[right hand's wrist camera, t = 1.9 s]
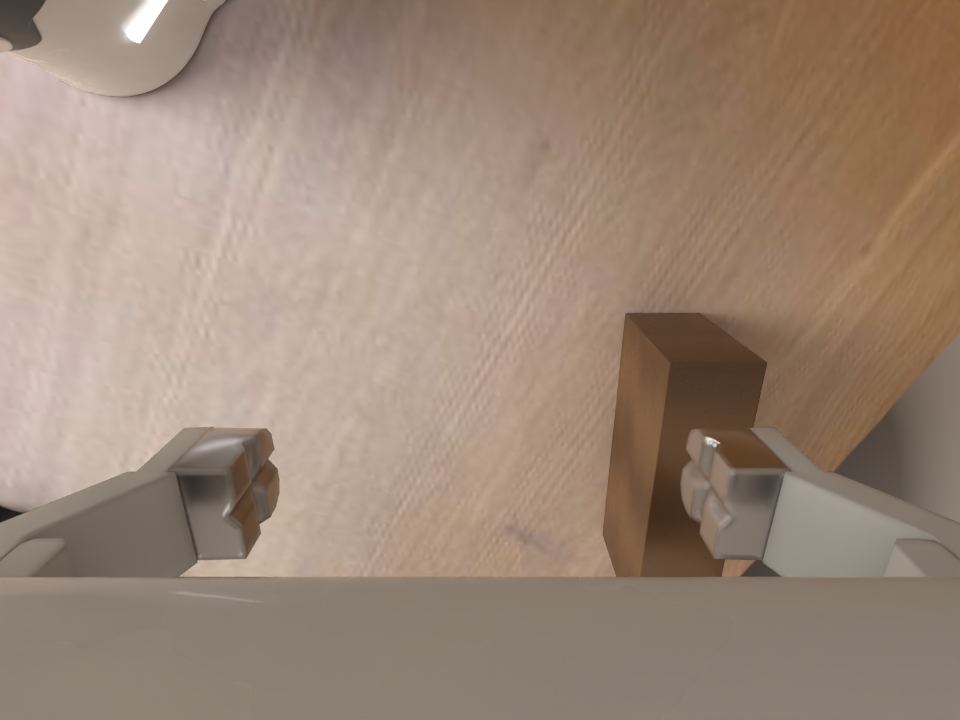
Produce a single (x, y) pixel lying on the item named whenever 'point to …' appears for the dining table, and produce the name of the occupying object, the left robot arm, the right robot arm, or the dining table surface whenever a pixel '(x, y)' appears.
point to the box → (670, 436)
